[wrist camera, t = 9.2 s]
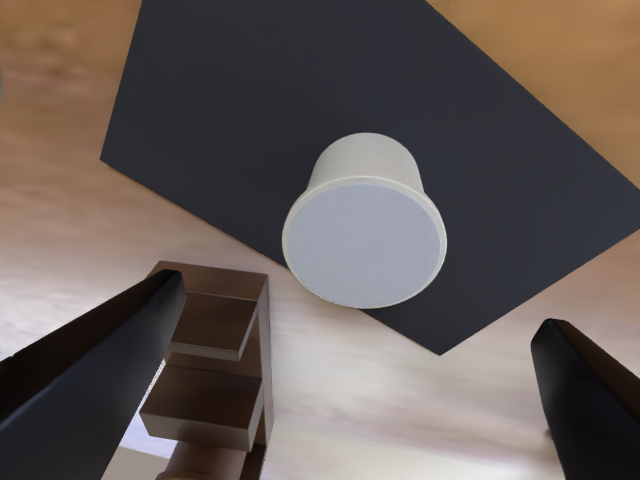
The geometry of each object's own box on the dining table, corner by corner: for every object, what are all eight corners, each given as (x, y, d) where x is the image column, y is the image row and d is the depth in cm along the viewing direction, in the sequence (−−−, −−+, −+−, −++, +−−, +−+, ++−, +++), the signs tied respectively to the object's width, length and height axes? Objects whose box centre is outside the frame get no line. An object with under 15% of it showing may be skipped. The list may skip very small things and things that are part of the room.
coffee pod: (454, 173, 14) (486, 242, 10) (374, 252, 16) (374, 331, 13) (351, 96, 12) (342, 140, 9) (283, 195, 15) (253, 262, 11)
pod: (271, 419, 23) (251, 502, 19) (239, 444, 26) (216, 521, 22) (203, 388, 22) (168, 471, 18) (177, 417, 25) (142, 495, 21)
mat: (658, 207, 14) (665, 212, 14) (438, 350, 20) (439, 356, 20) (202, -196, 9) (196, -202, 9) (104, 156, 16) (99, 159, 15)
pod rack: (267, 274, 18) (238, 352, 14) (273, 423, 28) (256, 496, 24) (159, 259, 19) (100, 332, 15) (200, 411, 28) (170, 482, 24)
